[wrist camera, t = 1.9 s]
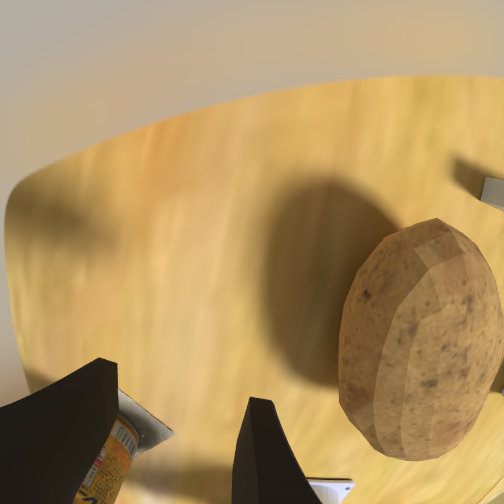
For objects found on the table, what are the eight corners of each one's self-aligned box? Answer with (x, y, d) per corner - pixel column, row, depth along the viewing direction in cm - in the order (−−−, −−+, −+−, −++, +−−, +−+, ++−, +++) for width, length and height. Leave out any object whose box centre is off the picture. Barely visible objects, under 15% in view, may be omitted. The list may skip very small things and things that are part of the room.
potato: (455, 191, 16) (545, 213, 9) (453, 377, 20) (500, 444, 12) (303, 222, 17) (330, 268, 10) (334, 413, 21) (353, 500, 13)
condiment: (63, 413, 23) (2, 504, 11) (102, 373, 21) (23, 490, 9) (125, 461, 24) (84, 558, 12) (176, 431, 22) (136, 558, 11)
